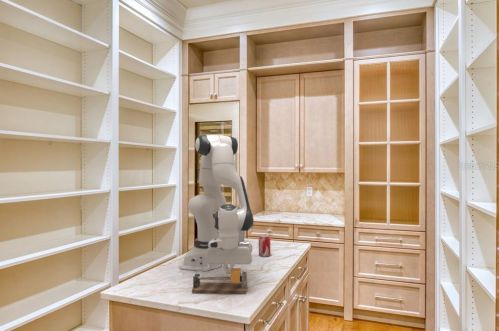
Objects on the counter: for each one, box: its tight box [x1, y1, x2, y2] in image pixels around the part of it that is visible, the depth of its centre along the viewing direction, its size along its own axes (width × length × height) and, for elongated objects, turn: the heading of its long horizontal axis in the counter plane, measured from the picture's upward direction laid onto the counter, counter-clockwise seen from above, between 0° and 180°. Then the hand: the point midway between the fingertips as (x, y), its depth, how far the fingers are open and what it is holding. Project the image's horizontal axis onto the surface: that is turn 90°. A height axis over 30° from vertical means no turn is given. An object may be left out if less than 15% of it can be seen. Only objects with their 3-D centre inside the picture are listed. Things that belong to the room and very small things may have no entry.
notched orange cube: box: [230, 267, 242, 283], centre depth 144 cm, size 4×4×5 cm
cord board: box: [191, 271, 248, 295], centre depth 144 cm, size 23×9×8 cm, turn 86°
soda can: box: [258, 234, 271, 258], centre depth 196 cm, size 7×7×12 cm
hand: (228, 273), depth 144 cm, fingers closed
